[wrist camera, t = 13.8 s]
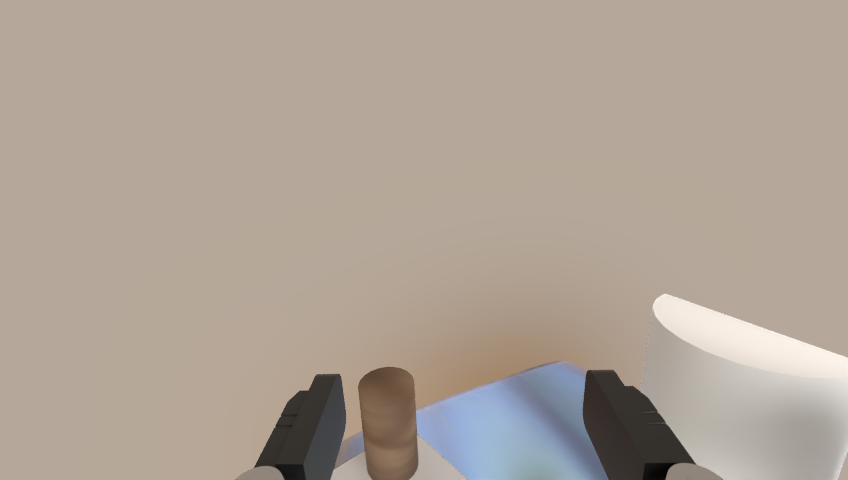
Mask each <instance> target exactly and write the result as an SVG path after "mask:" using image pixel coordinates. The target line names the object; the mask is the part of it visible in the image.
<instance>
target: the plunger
mask: <svg viewBox="0 0 848 480" xmlns="http://www.w3.org/2000/svg"><path fill="white" fill-rule="evenodd" d="M358 390H359V399H360V409H361V418H362V428H363V437H364V446H365V456H366V465H367V472H368V474H369V476H370V478H371V479H372V480H409V479H410V478H411V477H412V476H413V475H414V474H415V472H416V471H417V468H418V462H419V461H418V443H417V425H416V408H415V390H414V379H413V377H412V375H411V374H410V373H408V372H407V371H406V370H403V369H401V368H395V367H384V368H379V369H376V370H374V371H371V372H369V373H368V374H366V375H365V376H364V377H363V378H362V379H361V380H360V382H359V386H358Z"/></svg>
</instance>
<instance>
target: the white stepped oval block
mask: <svg viewBox="0 0 848 480" xmlns="http://www.w3.org/2000/svg"><path fill="white" fill-rule="evenodd" d="M640 392H641V393H643V394H644V395H645V396H647V397H648V398H649V399H650V401H651V402H652V404H653V405H654V406H655V408H656V409H657V411H658V413H660V415H661V416H662V417H663V419H664V420H665V422H666V425H668V426H669V427H670V428H671V430H672V431H673V433H674V434H675V435H676V437H677V438H678V440H679V441H680V442H681V444H682V445H683V446H684V448H685V449H686V451H687V452H688V453H689V455H690V456H691V457H692V459H693V460H694V462H695V463H696V464H697V465H699V466H701V467H704V468H706V469H708V470H710V471H712V472H714V473H715V474H717V475H718V476H720V477H721V478H722V479H723V480H837V479H838V477H839V474H840V471H841V468H842V465H843V462H844V459H845V456H846V454H847V451H848V358H847V357H844V356H841V355H838V354H836V353H833V352H830V351H827V350H824V349H821V348H819V347H816V346H813V345H810V344H807V343H804V342H801V341H798V340H796V339H793V338H790V337H787V336H784V335H781V334H779V333H776V332H773V331H770V330H767V329H765V328H762V327H759V326H756V325H753V324H750V323H747V322H745V321H742V320H739V319H736V318H733V317H731V316H728V315H725V314H722V313H719V312H716V311H713V310H711V309H708V308H705V307H702V306H699V305H696V304H694V303H691V302H688V301H685V300H682V299H680V298H676V297H674V296H671V295H668V294H663V295H662V296H660V297H659V298H657V299H656V300H655V302H654V305H653V307H652V314H651V321H650V327H649V334H648V341H647V348H646V355H645V362H644V369H643V375H642V382H641V389H640Z"/></svg>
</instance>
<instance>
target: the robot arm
mask: <svg viewBox="0 0 848 480" xmlns="http://www.w3.org/2000/svg"><path fill="white" fill-rule="evenodd" d="M583 419H584V424H585V428H586V430H587V433H588V435H589V437H590V439H591V441H592V444H593V446H594V448H595V450H596V452H597V455H598V457H599V459H600V461H601V463H602V465H603V468H604V470H605V472H606V474H607V476H608V478H609V480H723V479H722V478H721V477H720V476H718V475H717V474H715V473H714V472H712V471H710V470H708V469H706V468H704V467H701V466H699V465H697V464H696V463H695V462H694V460H693V459H692V457H691V456H690V455H689V453H688V452H687V451H686V449H685V448H684V446H683V445H682V444H681V442H680V441H679V440H678V438H677V437H676V435H675V434H674V433H673V431H672V430H671V428H670V427H669V426H668V425H666V422H665V420H664V419H663V417H662V416H661V415H660V413H658V411H657V409H656V408H655V406H654V405H653V404H652V402H651V401H650V399H649V398H648V397H647V396H645V395H644V394H643V393H641V392H640V391H639V390H637V389H636V388H635V387H633V386H624V384H623V383H622V381H621V380H620V379H619V377H618V375H617V374H616V373H615V371H613V370H588V371H587V374H586V381H585V391H584V402H583ZM345 424H346V410H345V403H344V395H343V388H342V380H341V376H340V374H317V375H316V376H315V378H314V380H313V382H312V385H311V387H310V389H309V391H299V392H298V393H297V394H296V395H295V396H294V397H293V398H291V399H290V400H289V401H288V403H287V404H286V406H285V408H284V410H283V412H282V414H281V417H280V418H279V420H278V422H277V424H276V428H274V430H273V432H272V434H271V436H270V438H269V439H268V441H267V443H266V446H265V447H264V449H263V451H262V453H261V455H260V457H259V459H258V461H257V463H256V465H255V467H254V468H253V469H251V470H248V471H247V472H245V473H243V474H242V475H240V476H239V477H238V478H237V479H236V480H331V476H332V473H333V469H334V466H335V462H336V459H337V455H338V452H339V449H340V445H341V442H342V438H343V435H344V431H345Z"/></svg>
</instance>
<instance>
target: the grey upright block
mask: <svg viewBox="0 0 848 480" xmlns="http://www.w3.org/2000/svg"><path fill="white" fill-rule="evenodd" d="M417 443H418V461H419V462H418V468H417V471H416V472H415V474H414V475H413V476H412V477H411V478H410V479H409V480H468V479H467V478H466V477H465V476H463V475H462V474H461V473H460V472H459V471H458V470H457V469H456V468H455V467H454V466H452V465H451V464H450V463H449V462H448V461H447V460H446V459H445V458H444V457H443V456H441V455H440V454H439V453H438V452H437V451H436V450H435V449H434V448H433V447H431V446H430V445H429V444H428V443H427V442H426V441H425V440H424V439H423V438H422V437H420V436H419V435H418V434H417ZM331 480H372V479H371V478H370V476H369V474H368V472H367V465H366V456H365V451H363V452H362V453H360V454H358V455H357V456H355V457H354V458H352V459H350V460H349V461H347V462H346V463H344V464H342V465H341V466H339V467H338V468H336V469H334V470H333V473H332V476H331Z"/></svg>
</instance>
